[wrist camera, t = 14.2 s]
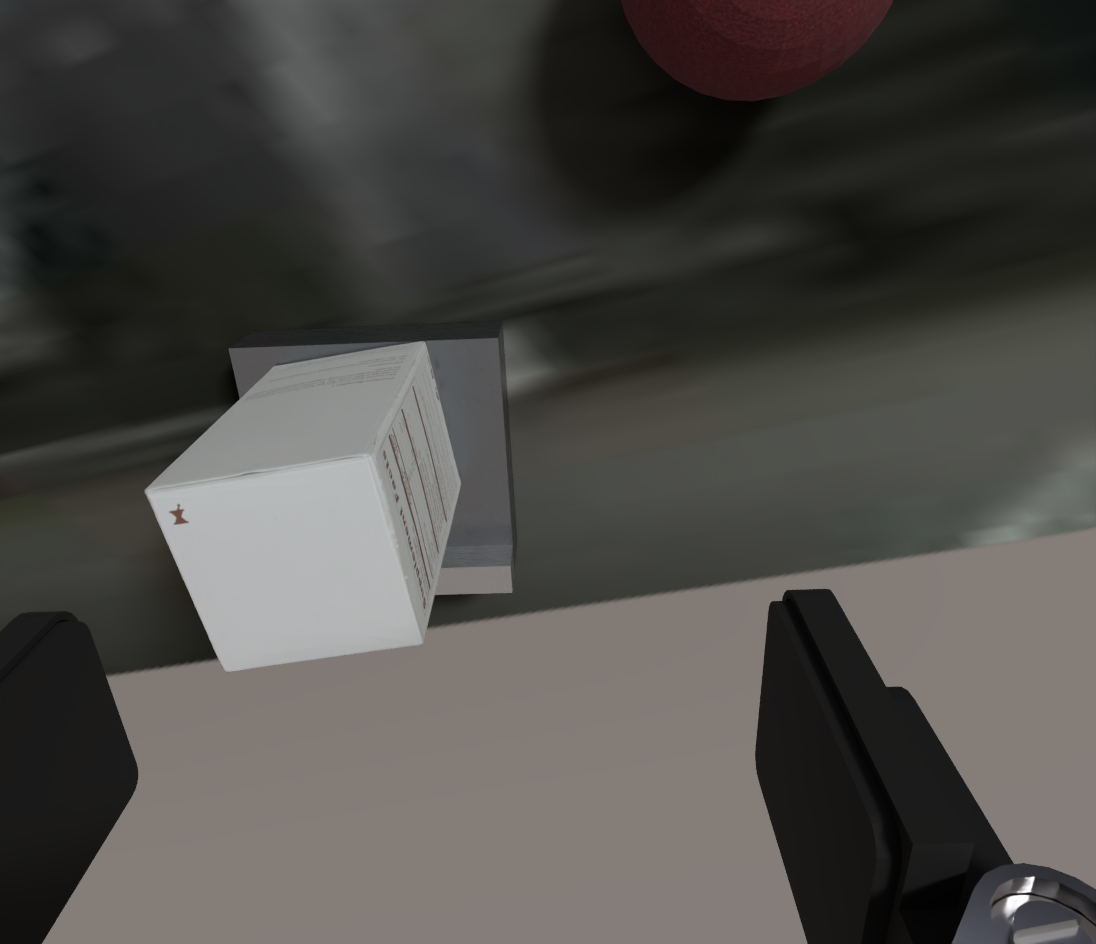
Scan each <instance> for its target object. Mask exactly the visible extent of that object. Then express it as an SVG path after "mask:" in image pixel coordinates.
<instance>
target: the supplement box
mask: <svg viewBox="0 0 1096 944" xmlns="http://www.w3.org/2000/svg"><path fill="white" fill-rule="evenodd" d="M460 486H461V481H460V477H459V474H458V470H457V466H456V462H455V458H454V454H453V450H452V446H451V442H450V439H449V434H448V430H447V426H446V422H445V418H444V414H443V410H442V406H441V402H440V398H439V394H438V390H437V386H436V382H435V378H434V374H433V370H432V366H431V362H430V358H429V354H428V350H427V346H426V343H425V342H424V341H419V342H414V343H407V344H400V345H394V346H388V347H382V348H376V349H370V350H364V351H359V352H353V353H347V354H342V355H336V356H330V357H325V358H319V359H313V360H308V361H302V362H296V363H291V364H285V365H279V366H274V367H272V369H271V370H270V371H269V372H268V373H267V374H266V375H265V376H264V377H263V378H261V379H260V380H259V381H258V382H257V383H256V384H255V385H254V386H253V387H252V388H251V389H250V390H249V391H248V392H247V393H246V394H245V395H244V396H243V397H242V398H240V399H239V400H238V401H237V402H236V403H235V404H234V405H233V406H232V407H231V408H230V409H229V410H228V411H227V412H226V413H225V414H224V415H222V416H221V417H220V418H219V419H218V420H217V421H216V422H215V423H214V424H213V425H212V426H211V427H210V428H209V429H208V430H207V431H206V432H205V433H204V434H203V435H202V436H201V437H200V438H199V439H198V440H196V441H195V442H194V443H193V444H192V445H191V446H190V447H189V448H188V449H187V450H186V451H185V452H184V453H183V454H182V455H181V456H180V457H179V458H178V459H177V460H176V461H174V462H173V463H172V464H171V465H170V466H169V467H168V468H167V469H166V470H165V471H164V472H163V473H162V474H161V475H160V476H159V477H158V478H157V479H156V480H154V481H153V482H152V483H151V484H150V485H149V486H148V487H147V488H146V489H145V494H146V496H147V498H148V500H149V502H150V504H151V507H152V509H153V511H154V513H155V515H156V518H157V520H158V523H159V525H160V527H161V530H162V532H163V534H164V537H165V539H166V541H167V543H168V546H169V548H170V550H171V553H172V555H173V557H174V559H175V562H176V564H177V566H178V568H179V571H180V573H181V575H182V578H183V580H184V582H185V584H186V587H187V589H188V591H189V593H190V596H191V598H192V600H193V603H194V605H195V607H196V609H197V612H198V614H199V616H200V618H201V621H202V623H203V625H204V627H205V630H206V632H207V634H208V637H209V639H210V641H211V643H212V646H213V648H214V650H215V653H216V655H217V657H218V659H219V661H220V663H221V665H222V667H223V669H224V670H225V671H226V672H234V671H240V670H247V669H253V668H259V667H267V666H274V665H280V664H287V663H294V662H301V661H308V660H315V659H322V658H330V657H336V656H343V655H350V654H358V653H364V652H371V651H379V650H386V649H394V648H400V647H408V646H416V645H421V644H423V642H424V638H425V634H426V630H427V625H428V620H429V616H430V612H431V608H432V604H433V600H434V596H435V591H436V587H437V582H438V578H439V574H440V569H441V564H442V560H443V556H444V553H445V548H446V544H447V540H448V536H449V532H450V528H451V524H452V519H453V516H454V511H455V507H456V503H457V499H458V495H459V491H460Z"/></svg>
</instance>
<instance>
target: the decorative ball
mask: <svg viewBox="0 0 1096 944" xmlns="http://www.w3.org/2000/svg"><path fill="white" fill-rule="evenodd" d="M892 2H893V0H621V3H622V7H623V10H624V14H625V16H626V18H627V20H628V22H629V24H630V26H631V28H632V30H633V32H634V34H635V36H636V38H637V40H638V42H639V43H640V44H641V45H642V47H643V48H644V49H645V51H646V52H647V53H648V54H649V56H650V57H651V58H652V60H653V61H654V62H655V63H656V64H657V65H658V66H660V67H661V68H662V69H663V70H664V71H666V72H667V73H668V74H669V75H670V76H671V77H673V78H674V79H675V80H676V81H678V82H680V83H682V84H684V85H686V86H687V87H689V88H691V89H693V90H695V91H697V92H699V93H701V94H705V95H709V96H712V97H716V98H720V99H723V100H734V101H757V100H763V99H769V98H774V97H780V96H782V95H785V94H787V93H790V92H793V91H795V90H798V89H800V88H803V87H805V86H808V85H810V84H812V83H814V82H815V81H817V80H819V79H820V78H822V77H823V76H825V75H826V74H828V73H830V72H831V71H833V70H834V69H836V68H838V67H839V66H840V65H841V64H842V63H844V62H845V61H846V60H847V59H848V58H849V57H850V56H851V55H852V54H853V53H855V52H856V51H857V50H858V49H859V48H860V47H861V46H862V45H863V44H864V43H865V41H866V40H867V39H868V38H869V36H870V35H871V34H872V33H873V31H874V30H875V29H876V27H877V26H878V25H879V24H880V22H881V21H882V20H883V18H884V16H885V15H886V13H887V11H888V9H889V7H890V6H891V4H892Z"/></svg>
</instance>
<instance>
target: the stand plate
mask: <svg viewBox="0 0 1096 944" xmlns="http://www.w3.org/2000/svg"><path fill="white" fill-rule="evenodd" d="M419 341H424V342H425V343H426V346H427V350H428V354H429V358H430V362H431V366H432V370H433V374H434V378H435V382H436V386H437V390H438V394H439V398H440V402H441V406H442V410H443V414H444V418H445V422H446V426H447V430H448V434H449V439H450V442H451V446H452V450H453V454H454V458H455V462H456V466H457V470H458V474H459V477H460V481H461V486H460V491H459V495H458V499H457V503H456V507H455V511H454V516H453V519H452V524H451V528H450V532H449V536H448V540H447V544H446V548H445V553H444V556H443V560H442V564H441V569H440V574H439V578H438V582H437V587H436V591H435V595H449V594H482V593H512V592H513V581H514V569H515V558H516V547H517V532H516V517H515V502H514V488H513V473H512V458H511V443H510V428H509V413H508V399H507V384H506V369H505V354H504V339H503V325H502V321H491V322H466V323H440V324H415V325H389V326H364V327H339V328H313V329H288V330H262V331H252V332H250V333H249V334H247V335H246V336H245V337H243V338H242V339H241V340H239V341H238V342H237V343H235V344H234V345H233V346H231V347H230V348H229V352H230V357H231V361H232V366H233V370H234V375H235V379H236V384H237V388H238V393H239V398H242V397H243V396H244V395H245V394H246V393H247V392H248V391H249V390H250V389H251V388H252V387H253V386H254V385H255V384H256V383H257V382H258V381H259V380H260V379H261V378H263V377H264V376H265V375H266V374H267V373H268V372H269V371H270V370H271V369H272V367H274V366H279V365H285V364H291V363H296V362H302V361H308V360H313V359H319V358H325V357H330V356H336V355H342V354H347V353H353V352H359V351H364V350H370V349H376V348H382V347H388V346H394V345H400V344H407V343H414V342H419Z"/></svg>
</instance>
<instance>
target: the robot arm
mask: <svg viewBox="0 0 1096 944" xmlns="http://www.w3.org/2000/svg"><path fill="white" fill-rule="evenodd" d="M755 757H756V758H755V759H756V770H757V775H758V779H759V783H760V786H761V790H762V793H763V796H764V800H765V803H766V806H767V809H768V813H769V816H770V820H771V823H772V826H773V830H774V833H775V836H776V840H777V843H778V846H779V849H780V853H781V856H782V859H783V863H784V866H785V869H786V873H787V876H788V880H789V883H790V886H791V889H792V893H793V896H794V899H795V903H796V906H797V910H798V913H799V916H800V919H801V923H802V926H803V930H804V933H805V936H806V940H807V943H808V944H1096V889H1094V888H1093V887H1091V886H1089V885H1088V884H1086V883H1084V882H1082V881H1081V880H1079V879H1077V878H1075V877H1073V876H1070V875H1068V874H1065V873H1062V872H1060V871H1057V870H1054V869H1052V868H1049V867H1043V866H1037V865H1031V864H1025V863H1021V864H1014V863H1013V862H1012V860H1011V858H1010V857H1009V855H1008V853H1007V852H1006V850H1005V848H1004V847H1003V845H1002V843H1001V842H1000V840H999V839H998V837H997V835H996V833H995V832H994V830H993V829H992V827H991V825H990V824H989V822H988V820H987V819H986V817H985V815H984V814H983V812H982V810H981V809H980V807H979V805H978V804H977V802H976V800H975V799H974V797H973V795H972V794H971V792H970V790H969V789H968V787H967V786H966V784H965V782H964V780H963V779H962V777H961V775H960V774H959V772H958V771H957V769H956V767H955V766H954V764H953V762H952V761H951V759H950V757H949V756H948V754H947V752H946V751H945V749H944V747H943V746H942V744H941V742H940V741H939V739H938V737H937V736H936V734H935V733H934V731H933V729H932V727H931V726H930V724H929V723H928V721H927V719H926V717H925V716H924V714H923V713H922V711H921V709H920V708H919V706H918V704H917V703H916V701H915V699H914V698H913V697H912V695H911V694H910V693H909V692H908V691H907V690H906V689H904V688H902V687H886V686H885V684H884V682H883V680H882V679H881V677H880V675H879V674H878V671H877V670H876V668H875V666H874V665H873V663H872V661H871V659H870V657H869V656H868V654H867V652H866V650H865V649H864V647H863V645H862V643H861V642H860V640H859V638H858V636H857V634H856V633H855V631H854V629H853V627H852V626H851V624H850V622H849V621H848V619H847V617H846V615H845V613H844V612H843V610H842V608H841V606H840V605H839V603H838V601H837V599H836V597H835V596H834V594H833V593H832V592H831V590H829V589H812V590H811V589H809V590H787V591H786V592H785V593H784V595H783V599H782V601H772V602H771V603H770V606H769V612H768V622H767V633H766V643H765V654H764V665H763V676H762V686H761V697H760V707H759V719H758V729H757V740H756V751H755ZM137 780H138V768H137V763H136V761H135V758H134V755H133V752H132V749H131V746H130V744H129V741H128V738H127V735H126V732H125V729H124V727H123V724H122V721H121V718H120V715H119V712H118V710H117V707H116V704H115V701H114V698H113V695H112V692H111V689H110V687H109V684H108V681H107V678H106V675H105V672H104V670H103V667H102V664H101V661H100V658H99V655H98V652H97V650H96V647H95V644H94V641H93V638H92V635H91V632H90V630H89V628H88V626H87V625H86V624H85V623H83V622H78V620H77V618H76V617H75V616H74V615H73V614H72V613H69V612H66V611H60V612H27V613H23V614H20V615H18V616H17V617H16V618H14V619H13V620H12V621H11V622H10V623H9V624H8V625H7V626H6V627H5V628H4V629H3V630H1V631H0V944H42V942H43V941H44V939H45V938H46V936H47V934H48V933H49V931H50V929H51V928H52V926H53V924H54V923H55V921H56V919H57V918H58V916H59V915H60V913H61V911H62V910H63V908H64V907H65V905H66V903H67V902H68V900H69V898H70V897H71V895H72V893H73V892H74V890H75V889H76V887H77V885H78V884H79V882H80V880H81V879H82V877H83V875H84V874H85V872H86V871H87V869H88V867H89V866H90V864H91V862H92V860H93V859H94V858H95V856H96V854H97V852H98V851H99V849H100V848H101V846H102V844H103V843H104V841H105V840H106V838H107V836H108V835H109V833H110V831H111V830H112V828H113V826H114V825H115V823H116V822H117V820H118V818H119V817H120V815H121V813H122V812H123V810H124V809H125V807H126V805H127V804H128V802H129V800H130V799H131V797H132V795H133V793H134V791H135V788H136V785H137Z"/></svg>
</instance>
